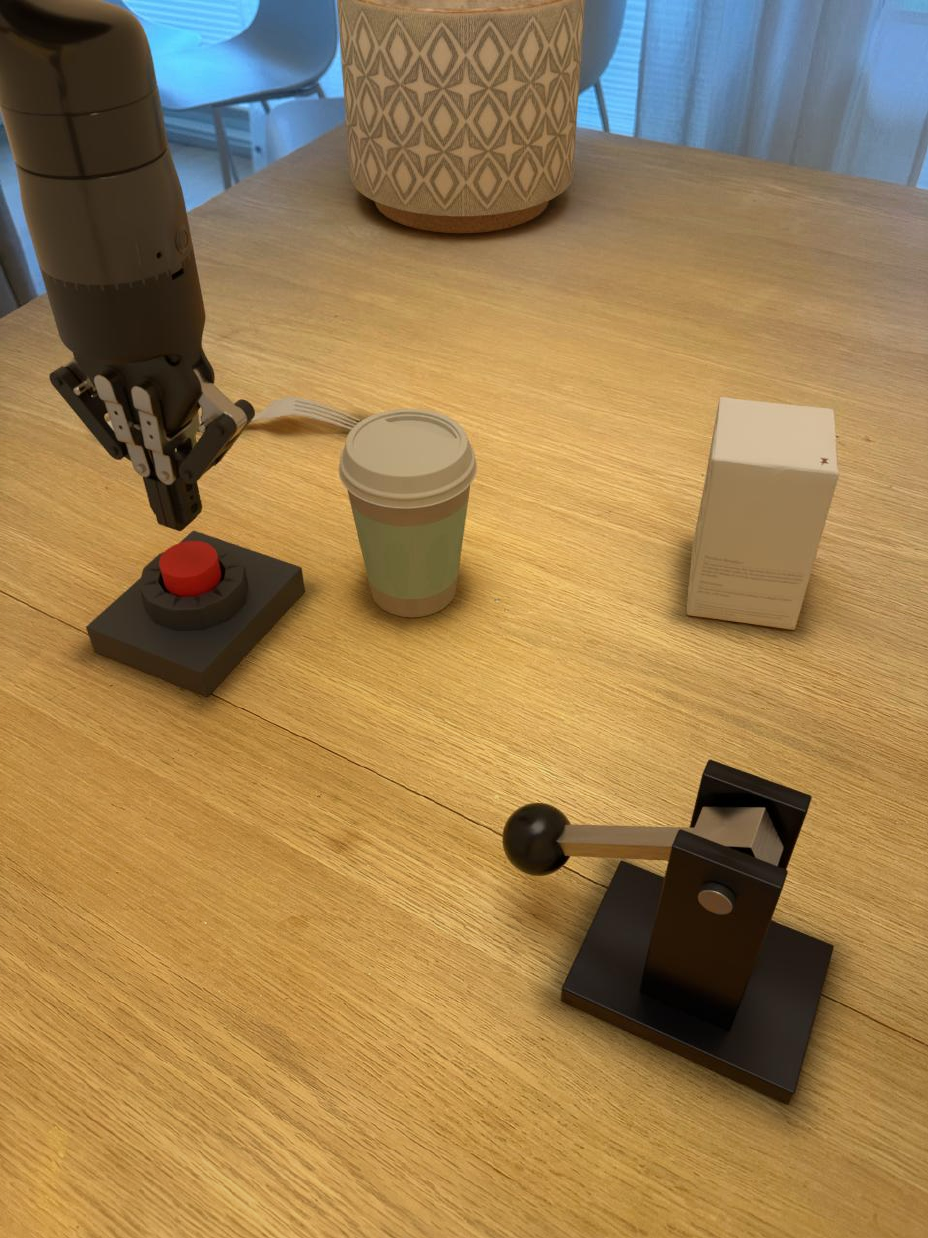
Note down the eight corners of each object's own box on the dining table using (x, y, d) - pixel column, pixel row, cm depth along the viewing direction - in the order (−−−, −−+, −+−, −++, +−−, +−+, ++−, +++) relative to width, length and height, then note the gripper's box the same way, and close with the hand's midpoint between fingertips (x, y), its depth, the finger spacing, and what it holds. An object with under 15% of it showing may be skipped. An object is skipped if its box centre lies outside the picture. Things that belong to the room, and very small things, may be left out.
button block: (207, 697, 65) (196, 651, 62) (93, 651, 68) (78, 605, 65) (305, 591, 72) (299, 545, 69) (198, 554, 75) (188, 509, 72)
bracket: (559, 1000, 50) (579, 843, 42) (618, 872, 55) (646, 708, 47) (789, 1106, 47) (862, 957, 38) (829, 957, 52) (902, 797, 43)
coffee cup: (500, 602, 71) (504, 452, 63) (389, 649, 68) (378, 498, 60) (434, 535, 76) (431, 389, 68) (329, 576, 73) (312, 428, 65)
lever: (509, 889, 50) (478, 839, 49) (538, 836, 53) (509, 787, 51) (770, 908, 42) (742, 849, 41) (791, 845, 44) (765, 787, 43)
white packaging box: (796, 562, 74) (839, 406, 65) (795, 634, 69) (842, 474, 60) (690, 547, 75) (719, 392, 67) (681, 616, 70) (711, 457, 61)
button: (198, 604, 66) (193, 583, 64) (152, 587, 67) (146, 566, 66) (232, 571, 68) (228, 550, 67) (187, 555, 69) (183, 534, 68)
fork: (119, 442, 89) (108, 414, 88) (360, 417, 88) (354, 388, 86) (111, 461, 87) (99, 433, 85) (358, 435, 86) (352, 406, 84)
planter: (531, 258, 110) (541, 20, 95) (314, 224, 117) (290, -4, 102) (597, 174, 128) (614, -39, 113) (404, 148, 134) (396, -56, 119)
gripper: (-41, 248, 52) (53, 525, 64) (174, 303, 48) (232, 589, 60) (64, 195, 57) (134, 461, 69) (268, 241, 53) (305, 517, 64)
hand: (180, 520), depth 64 cm, fingers closed
